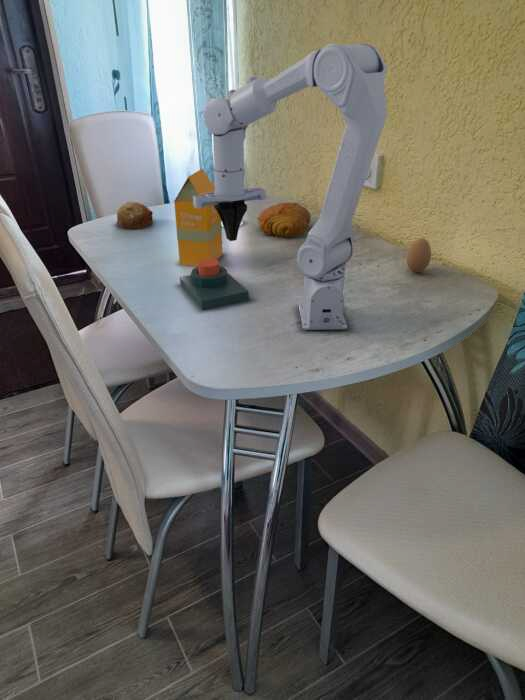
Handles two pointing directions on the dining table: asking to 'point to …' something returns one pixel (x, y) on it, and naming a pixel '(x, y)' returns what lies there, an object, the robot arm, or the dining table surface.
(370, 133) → the robot arm
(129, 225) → the bread roll
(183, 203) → the orange juice
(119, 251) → the dining table surface
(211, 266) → the push button
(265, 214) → the golden brown pastry bun
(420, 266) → the egg
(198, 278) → the green button base
